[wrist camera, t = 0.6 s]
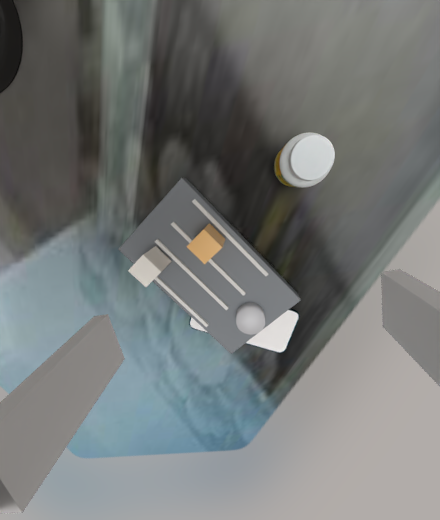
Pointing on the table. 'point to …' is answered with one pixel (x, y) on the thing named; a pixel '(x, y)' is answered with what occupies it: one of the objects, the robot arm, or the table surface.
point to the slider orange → (206, 243)
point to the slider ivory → (149, 266)
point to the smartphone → (269, 332)
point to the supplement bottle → (304, 160)
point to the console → (211, 269)
